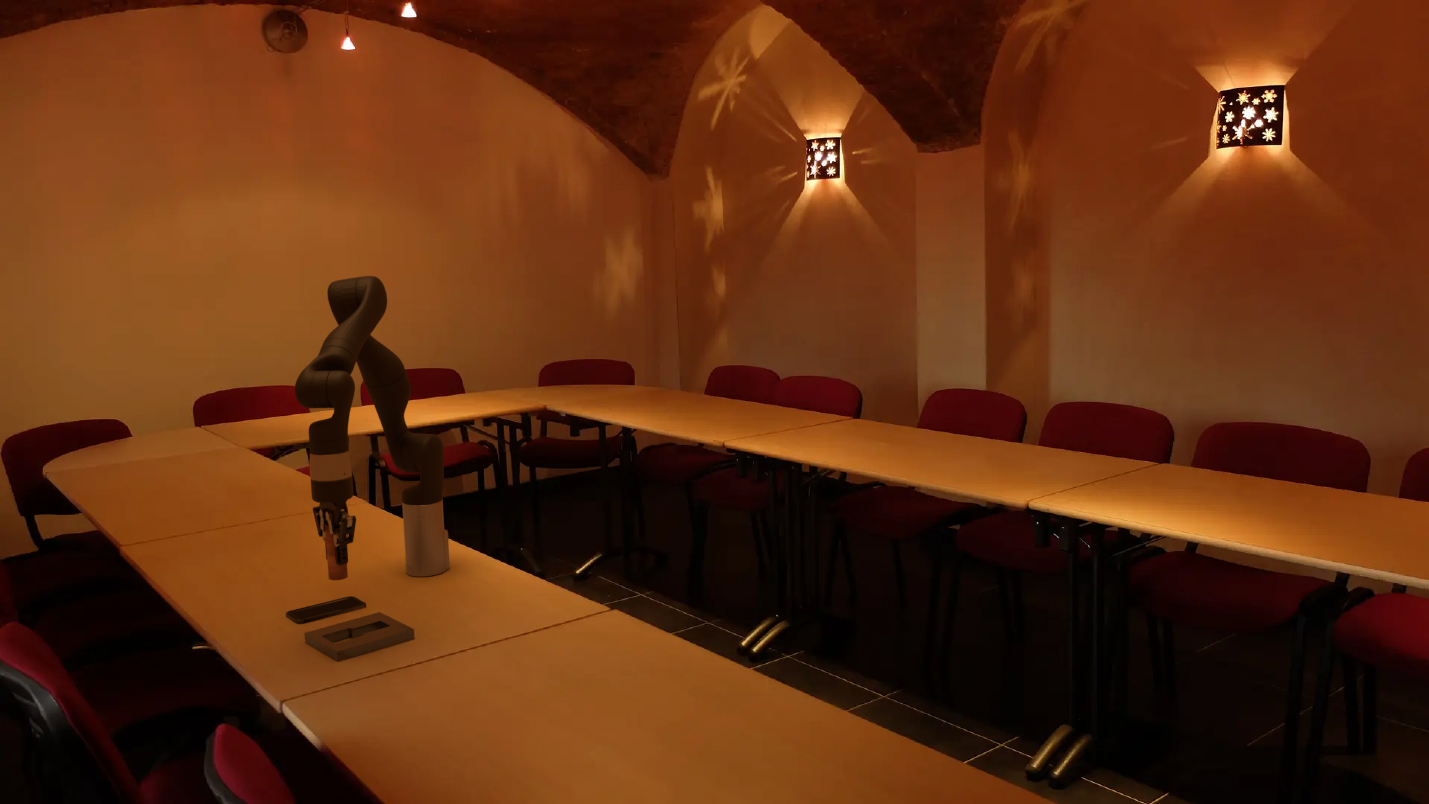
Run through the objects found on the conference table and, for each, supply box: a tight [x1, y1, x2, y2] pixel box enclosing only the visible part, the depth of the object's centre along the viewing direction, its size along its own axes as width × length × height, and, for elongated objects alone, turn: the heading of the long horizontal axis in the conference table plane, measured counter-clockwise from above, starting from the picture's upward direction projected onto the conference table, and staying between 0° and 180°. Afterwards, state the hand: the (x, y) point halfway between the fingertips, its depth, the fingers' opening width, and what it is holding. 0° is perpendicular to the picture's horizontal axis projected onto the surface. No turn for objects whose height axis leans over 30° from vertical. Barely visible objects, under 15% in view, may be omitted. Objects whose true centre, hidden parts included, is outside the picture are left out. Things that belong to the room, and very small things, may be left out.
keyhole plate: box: [303, 611, 415, 663], centre depth 211 cm, size 16×14×2 cm
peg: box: [325, 526, 349, 581], centre depth 206 cm, size 4×4×10 cm
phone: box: [285, 596, 367, 625], centre depth 228 cm, size 8×1×15 cm
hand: (337, 561), depth 206 cm, fingers closed on peg, 3 cm apart
